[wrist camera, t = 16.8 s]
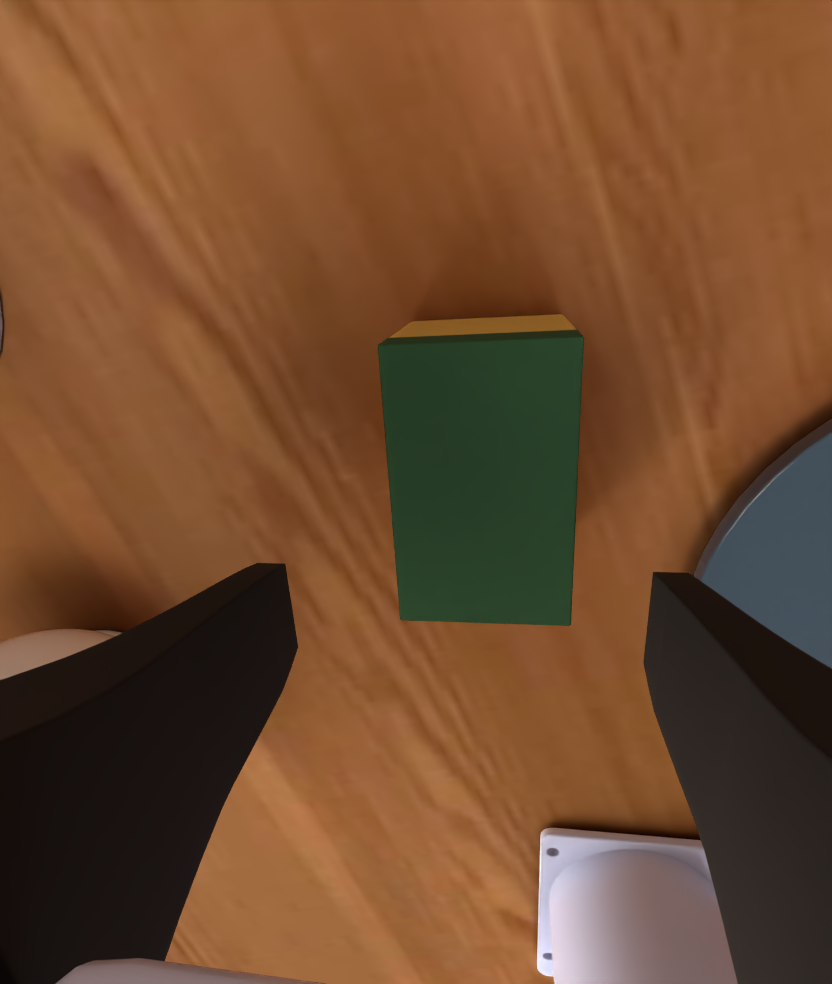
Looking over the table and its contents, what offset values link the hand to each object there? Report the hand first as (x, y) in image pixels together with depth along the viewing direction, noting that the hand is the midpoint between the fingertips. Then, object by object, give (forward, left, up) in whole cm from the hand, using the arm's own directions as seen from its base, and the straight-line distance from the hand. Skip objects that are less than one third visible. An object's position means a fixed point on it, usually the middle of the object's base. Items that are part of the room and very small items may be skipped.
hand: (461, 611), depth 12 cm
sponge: (+1, 0, -9) cm, 9 cm away
